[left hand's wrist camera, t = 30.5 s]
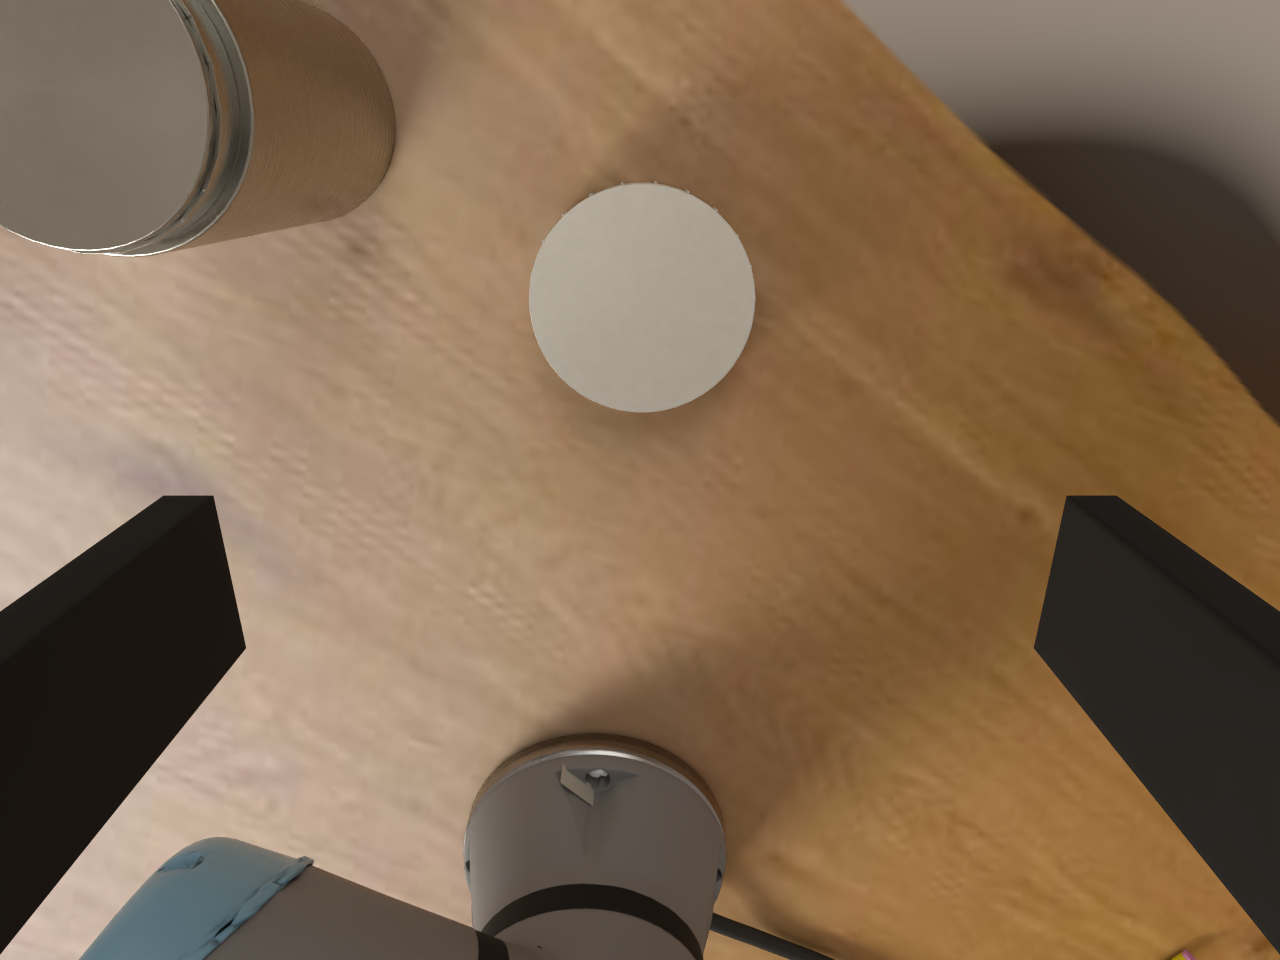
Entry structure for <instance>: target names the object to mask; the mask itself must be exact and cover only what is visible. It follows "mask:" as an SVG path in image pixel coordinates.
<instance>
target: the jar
mask: <svg viewBox="0 0 1280 960" xmlns="http://www.w3.org/2000/svg"><path fill="white" fill-rule="evenodd" d="M394 137H395V119H394V110H393V105H392V99H391V96H390V93H389V89H388V86H387V83H386V81H385V79H384V76H383V74H382V72H381V70H380V68H379V66H378V64H377V63H376V61H375V59H374V57H373V56H372V55H371V53H370V52H369V50H368V49H367V48H366V46H365V45H364V44H363V43H362V42H361V41H360V39H359V38H358V37H357V36H356V35H355V34H354V33H353V32H352V31H351V30H350V29H348V28H347V27H346V26H345V25H344V24H343V23H341V22H340V21H338V20H337V19H335V18H334V17H332V16H331V15H329V14H327V13H325V12H323V11H321V10H320V9H318V8H316V7H313V6H311V5H309V4H307V3H305V2H303V1H300V0H0V226H2V227H3V228H5V229H7V230H9V231H11V232H13V233H15V234H17V235H20V236H22V237H24V238H27V239H29V240H31V241H34V242H38V243H41V244H44V245H47V246H51V247H55V248H61V249H65V250H69V251H74V252H78V253H81V254H104V255H109V256H119V257H141V256H152V255H157V254H162V253H167V252H172V251H177V250H182V249H187V248H192V247H197V246H202V245H207V244H212V243H217V242H222V241H227V240H232V239H237V238H242V237H247V236H252V235H257V234H262V233H267V232H272V231H276V230H281V229H286V228H291V227H296V226H301V225H306V224H311V223H316V222H321V221H326V220H330V219H334V218H337V217H339V216H342V215H344V214H347V213H348V212H350V211H352V210H354V209H355V208H357V207H358V206H359V205H361V204H362V203H363V202H364V201H366V200H367V199H368V197H369V196H370V195H371V194H372V193H373V192H374V191H375V190H376V188H377V187H378V185H379V184H380V182H381V181H382V179H383V177H384V175H385V173H386V171H387V169H388V166H389V163H390V160H391V157H392V151H393V146H394Z"/></svg>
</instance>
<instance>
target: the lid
mask: <svg viewBox="0 0 1280 960" xmlns="http://www.w3.org/2000/svg"><path fill="white" fill-rule="evenodd" d="M717 211H718V210H717V209H716V208H714V207H713V208H711V207H710V206H709V205H708V204H706V203H705V202H703V201H702V200H700V199H698V198H697V197H695V196H694V195H692V194H690V191H688V190H685V191H683V190H681V189H678V188H675V187H671V186H668V185H664V184H657V181H654V183H650V182H634V183H627V184H624V182H621V183H620V185H617V186H613V187H610V188H606V189H604V190H602V191H599V192H597V193H595V194H593V192H592V193H590V194H589V197H588V198H586V199H584V200H583V201H581V202H580V203H578V204H577V205H576V206H574V207H573V208H572V209H571V210H570V211H568V212H565V213H563V214H562V215H561V216H562V218H561V219H560V220H559V221H558V222H557V223H556V225H555V226H554V227H553V228H552V230H551V231H550V233H549V234H548V236H547V237H546V238H545V239H544V240H543V241H542V243H543V244H542V246H541V248H540V250H539V252H538V255H537V258H536V260H535V263H534V266H533V270H532V271H531V274H532V275H531V280H530V289H529V308H530V316H531V322H532V327H533V330H534V333H535V337H536V339H537V342H538V344H539V346H540V348H541V350H542V352H543V354H544V356H545V357H546V359H547V361H548V362H549V364H550V365H551V367H552V368H553V369H554V370H555V372H556V373H557V374H558V375H559V376H560V377H561V378H562V379H563V380H564V381H565V382H566V383H567V384H568V385H569V386H570V387H572V388H573V389H574V390H576V391H577V392H578V393H580V394H581V395H583V396H585V397H586V398H588V399H590V400H592V401H594V402H596V403H598V404H601V405H603V406H606V407H609V408H613V409H617V410H621V411H628V412H656V411H663V410H667V409H671V408H675V407H678V406H681V405H683V404H686V403H688V402H691V401H692V400H694V399H696V398H698V397H700V396H701V395H703V394H704V393H706V392H707V391H709V390H710V389H711V388H713V387H714V386H715V385H716V384H717V383H718V382H719V381H720V380H721V379H723V378H724V377H725V375H726V374H727V373H728V372H729V371H730V369H731V368H732V367H733V366H734V364H735V363H736V361H737V359H738V358H739V356H740V355H741V353H742V351H743V349H744V347H745V344H746V342H747V340H748V337H749V334H750V331H751V328H752V323H753V318H754V312H755V300H756V297H755V284H754V278H753V273H752V265H751V264H750V262H749V259H748V256H747V253H746V251H745V249H744V247H743V245H742V243H741V241H740V239H739V238H738V237H739V235H738V234H737V233H736V232H734V231H733V229H732V228H731V226H730V225H729V224H728V223H727V222H726V221H725V220H724V219H723V217H722V216H721V215H720V214H719V213H717Z"/></svg>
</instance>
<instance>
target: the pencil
mask: <svg viewBox="0 0 1280 960" xmlns="http://www.w3.org/2000/svg"><path fill="white" fill-rule="evenodd" d="M1171 960H1196V959H1195V958H1194V957H1193V955H1192V954H1191V953H1189V952H1188V951H1187V950H1183V951H1182V952H1180V953H1179V954H1178V955H1176V956H1175V957H1174V958H1172V959H1171Z"/></svg>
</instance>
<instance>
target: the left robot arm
mask: <svg viewBox="0 0 1280 960" xmlns="http://www.w3.org/2000/svg"><path fill="white" fill-rule="evenodd" d="M245 649H246V645H245V641H244V636H243V631H242V627H241V622H240V617H239V613H238V608H237V603H236V599H235V594H234V590H233V585H232V580H231V576H230V571H229V566H228V562H227V557H226V552H225V548H224V543H223V538H222V534H221V529H220V524H219V520H218V515H217V511H216V506H215V501H214V497H213V496H162V497H161V498H160V499H158V500H157V501H155V502H154V503H153V504H151V505H150V506H148V507H147V508H145V509H144V510H143V511H141V512H140V513H138V514H137V515H136V516H134V517H133V518H131V519H130V520H129V521H127V522H126V523H124V524H123V525H122V526H120V527H119V528H117V529H116V530H115V531H113V532H112V533H110V534H109V535H107V536H106V537H105V538H103V539H102V540H100V541H99V542H98V543H96V544H95V545H93V546H92V547H91V548H89V549H88V550H86V551H85V552H84V553H82V554H81V555H79V556H78V557H77V558H75V559H74V560H72V561H71V562H69V563H68V564H67V565H65V566H64V567H62V568H61V569H60V570H58V571H57V572H55V573H54V574H53V575H51V576H50V577H48V578H47V579H46V580H44V581H43V582H41V583H40V584H38V585H37V586H36V587H34V588H33V589H31V590H30V591H29V592H27V593H26V594H24V595H23V596H22V597H20V598H19V599H17V600H16V601H15V602H13V603H12V604H10V605H9V606H8V607H6V608H5V609H3V610H2V611H0V954H1V953H2V952H3V950H4V949H5V948H6V947H7V945H8V944H9V943H10V942H11V940H12V939H13V938H14V937H15V935H16V934H17V933H18V932H19V930H20V929H21V928H22V927H23V925H24V924H25V923H26V922H27V920H28V919H29V918H30V917H31V915H32V914H33V913H34V912H35V910H36V909H37V908H38V907H39V905H40V904H41V903H42V902H43V900H44V899H45V898H46V897H47V895H48V894H49V893H50V892H51V891H52V889H53V888H54V887H55V886H56V884H57V883H58V882H59V881H60V879H61V878H62V877H63V876H64V874H65V873H66V872H67V871H68V869H69V868H70V867H71V866H72V864H73V863H74V862H75V861H76V859H77V858H78V857H79V856H80V854H81V853H82V852H83V851H84V849H85V848H86V847H87V846H88V844H89V843H90V842H91V841H92V839H93V838H94V837H95V836H96V834H97V833H98V832H99V831H100V829H101V828H102V827H103V826H104V824H105V823H106V822H107V821H108V819H109V818H110V817H111V816H112V814H113V813H114V812H115V811H116V810H117V808H118V807H119V806H120V805H121V803H122V802H123V801H124V800H125V798H126V797H127V796H128V795H129V793H130V792H131V791H132V790H133V788H134V787H135V786H136V785H137V783H138V782H139V781H140V780H141V778H142V777H143V776H144V775H145V773H146V772H147V771H148V770H149V768H150V767H151V766H152V765H153V763H154V762H155V761H156V760H157V758H158V757H159V756H160V755H161V753H162V752H163V751H164V750H165V748H166V747H167V746H168V745H169V743H170V742H171V741H172V740H173V738H174V737H175V736H176V735H177V734H178V732H179V731H180V730H181V729H182V727H183V726H184V725H185V724H186V722H187V721H188V720H189V719H190V717H191V716H192V715H193V714H194V712H195V711H196V710H197V709H198V707H199V706H200V705H201V704H202V702H203V701H204V700H205V699H206V697H207V696H208V695H209V694H210V692H211V691H212V690H213V689H214V687H215V686H216V685H217V684H218V682H219V681H220V680H221V679H222V677H223V676H224V675H225V674H226V672H227V671H228V670H229V669H230V667H231V666H232V665H233V664H234V662H235V661H236V660H237V659H238V658H239V656H240V655H241V654H242V653H243V651H244V650H245ZM1034 649H1035V650H1036V651H1037V653H1038V654H1039V655H1040V656H1041V658H1042V659H1043V660H1044V661H1045V662H1046V664H1047V665H1048V666H1049V667H1050V669H1051V670H1052V671H1053V672H1054V674H1055V675H1056V676H1057V677H1058V679H1059V680H1060V681H1061V682H1062V684H1063V685H1064V686H1065V687H1066V689H1067V690H1068V691H1069V692H1070V694H1071V695H1072V696H1073V697H1074V699H1075V700H1076V701H1077V702H1078V704H1079V705H1080V706H1081V707H1082V709H1083V710H1084V711H1085V712H1086V714H1087V715H1088V716H1089V717H1090V719H1091V720H1092V721H1093V722H1094V724H1095V725H1096V726H1097V727H1098V729H1099V730H1100V731H1101V732H1102V734H1103V735H1104V736H1105V737H1106V738H1107V740H1108V741H1109V742H1110V743H1111V745H1112V746H1113V747H1114V748H1115V750H1116V751H1117V752H1118V753H1119V755H1120V756H1121V757H1122V758H1123V760H1124V761H1125V762H1126V763H1127V765H1128V766H1129V767H1130V768H1131V770H1132V771H1133V772H1134V773H1135V775H1136V776H1137V777H1138V778H1139V780H1140V781H1141V782H1142V783H1143V785H1144V786H1145V787H1146V788H1147V790H1148V791H1149V792H1150V793H1151V795H1152V796H1153V797H1154V798H1155V800H1156V801H1157V802H1158V803H1159V805H1160V806H1161V807H1162V808H1163V810H1164V811H1165V812H1166V813H1167V815H1168V816H1169V817H1170V818H1171V819H1172V821H1173V822H1174V823H1175V824H1176V826H1177V827H1178V828H1179V829H1180V831H1181V832H1182V833H1183V834H1184V836H1185V837H1186V838H1187V839H1188V841H1189V842H1190V843H1191V844H1192V846H1193V847H1194V848H1195V849H1196V851H1197V852H1198V853H1199V854H1200V856H1201V857H1202V858H1203V859H1204V861H1205V862H1206V863H1207V864H1208V866H1209V867H1210V868H1211V869H1212V871H1213V872H1214V873H1215V874H1216V876H1217V877H1218V878H1219V879H1220V881H1221V882H1222V883H1223V884H1224V886H1225V887H1226V888H1227V889H1228V891H1229V892H1230V893H1231V894H1232V895H1233V897H1234V898H1235V899H1236V900H1237V902H1238V903H1239V904H1240V905H1241V907H1242V908H1243V909H1244V910H1245V912H1246V913H1247V914H1248V915H1249V917H1250V918H1251V919H1252V920H1253V922H1254V923H1255V924H1256V925H1257V927H1258V928H1259V929H1260V930H1261V932H1262V933H1263V934H1264V935H1265V937H1266V938H1267V939H1268V940H1269V942H1270V943H1271V944H1272V945H1273V947H1274V948H1275V949H1276V950H1277V952H1278V953H1279V954H1280V611H1278V610H1277V609H1275V608H1274V607H1272V606H1271V605H1270V604H1268V603H1267V602H1265V601H1264V600H1263V599H1261V598H1260V597H1258V596H1257V595H1256V594H1254V593H1253V592H1251V591H1250V590H1249V589H1247V588H1246V587H1244V586H1243V585H1242V584H1240V583H1239V582H1237V581H1236V580H1234V579H1233V578H1232V577H1230V576H1229V575H1227V574H1226V573H1225V572H1223V571H1222V570H1220V569H1219V568H1218V567H1216V566H1215V565H1213V564H1212V563H1211V562H1209V561H1208V560H1206V559H1205V558H1203V557H1202V556H1201V555H1199V554H1198V553H1196V552H1195V551H1194V550H1192V549H1191V548H1189V547H1188V546H1187V545H1185V544H1184V543H1182V542H1181V541H1180V540H1178V539H1177V538H1175V537H1174V536H1173V535H1171V534H1170V533H1168V532H1167V531H1165V530H1164V529H1163V528H1161V527H1160V526H1158V525H1157V524H1156V523H1154V522H1153V521H1151V520H1150V519H1149V518H1147V517H1146V516H1144V515H1143V514H1142V513H1140V512H1139V511H1137V510H1136V509H1135V508H1133V507H1132V506H1130V505H1129V504H1127V503H1126V502H1125V501H1123V500H1122V499H1120V498H1119V497H1118V496H1067V497H1066V501H1065V506H1064V511H1063V515H1062V520H1061V524H1060V529H1059V534H1058V538H1057V543H1056V548H1055V552H1054V557H1053V562H1052V566H1051V571H1050V576H1049V580H1048V585H1047V590H1046V594H1045V599H1044V603H1043V608H1042V613H1041V617H1040V622H1039V627H1038V631H1037V636H1036V641H1035V645H1034ZM463 855H464V868H465V875H466V879H467V884H468V887H469V890H470V892H471V897H472V923H473V928H472V927H469V926H467V925H464V924H461V923H459V922H456V921H453V920H451V919H448V918H445V917H443V916H440V915H437V914H435V913H432V912H429V911H427V910H424V909H421V908H419V907H416V906H413V905H411V904H408V903H405V902H403V901H400V900H397V899H395V898H392V897H389V896H387V895H384V894H382V893H379V892H377V891H374V890H372V889H369V888H367V887H364V886H362V885H359V884H357V883H354V882H352V881H349V880H347V879H344V878H342V877H339V876H337V875H334V874H332V873H329V872H327V871H324V870H322V869H319V868H317V867H314V866H312V865H313V863H314V860H313V859H310V858H308V857H305V856H303V857H301V858H297V859H295V858H292V857H289V856H286V855H283V854H280V853H277V852H274V851H271V850H268V849H264V848H261V847H258V846H255V845H252V844H249V843H246V842H243V841H240V840H236V839H232V838H226V837H214V838H208V839H204V840H201V841H198V842H195V843H193V844H191V845H189V846H187V847H185V848H184V849H182V850H181V851H179V852H178V853H176V854H175V855H174V856H172V857H171V858H170V859H169V860H168V861H166V862H165V863H164V864H163V865H162V866H161V867H160V868H159V869H158V870H157V871H156V872H155V873H154V874H153V875H152V876H151V877H150V878H149V879H148V880H147V881H146V882H145V883H144V884H143V885H142V886H141V887H140V888H139V889H138V891H137V892H136V893H135V894H134V895H133V896H132V897H131V898H130V899H129V901H128V902H127V903H126V904H125V905H124V906H123V907H122V909H121V910H120V911H119V912H118V913H117V914H116V915H115V916H114V918H113V919H112V920H111V921H110V923H109V924H108V925H107V926H106V927H105V929H104V930H103V931H102V932H101V933H100V935H99V936H98V937H97V938H96V939H95V941H94V942H93V943H92V944H91V945H90V947H89V948H88V949H87V950H86V951H85V953H84V954H83V955H82V956H81V958H80V959H79V960H703V952H704V948H705V945H706V941H707V937H708V933H709V930H712V931H714V932H717V933H720V934H722V935H725V936H728V937H730V938H733V939H736V940H739V941H742V942H745V943H748V944H750V945H753V946H756V947H758V948H761V949H764V950H766V951H769V952H771V953H774V954H777V955H779V956H782V957H785V958H787V959H790V960H834V959H832V958H830V957H827V956H825V955H823V954H820V953H818V952H815V951H813V950H810V949H808V948H805V947H802V946H800V945H797V944H794V943H792V942H789V941H786V940H784V939H781V938H778V937H776V936H773V935H771V934H768V933H766V932H763V931H761V930H758V929H755V928H753V927H750V926H747V925H744V924H742V923H739V922H736V921H733V920H731V919H728V918H726V917H723V916H720V915H718V914H715V913H713V905H714V903H715V901H716V899H717V897H718V894H719V892H720V889H721V885H722V881H723V877H724V872H725V866H726V855H727V853H726V841H725V833H724V825H723V819H722V815H721V811H720V808H719V805H718V803H717V801H716V798H715V796H714V794H713V793H712V791H711V790H710V788H709V787H708V785H707V784H706V783H705V781H704V780H703V779H702V778H701V776H699V775H698V774H697V773H696V772H695V771H694V770H693V769H692V768H691V767H690V766H689V765H687V764H686V763H685V762H684V761H682V760H681V759H679V758H678V757H676V756H675V755H673V754H671V753H669V752H667V751H666V750H664V749H662V748H659V747H657V746H655V745H652V744H650V743H647V742H644V741H641V740H637V739H633V738H629V737H624V736H618V735H609V734H578V735H570V736H564V737H559V738H555V739H551V740H547V741H544V742H541V743H538V744H536V745H533V746H531V747H529V748H527V749H525V750H523V751H521V752H519V753H517V754H516V755H514V756H512V757H511V758H510V759H508V760H507V761H505V762H504V763H503V764H502V765H500V766H499V767H498V768H497V769H496V770H495V771H494V772H493V773H492V774H491V775H490V776H489V777H488V779H487V780H486V781H485V783H484V784H483V785H482V787H481V789H480V790H479V792H478V794H477V796H476V798H475V801H474V803H473V806H472V810H471V813H470V817H469V821H468V825H467V828H466V832H465V838H464V846H463Z"/></svg>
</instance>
